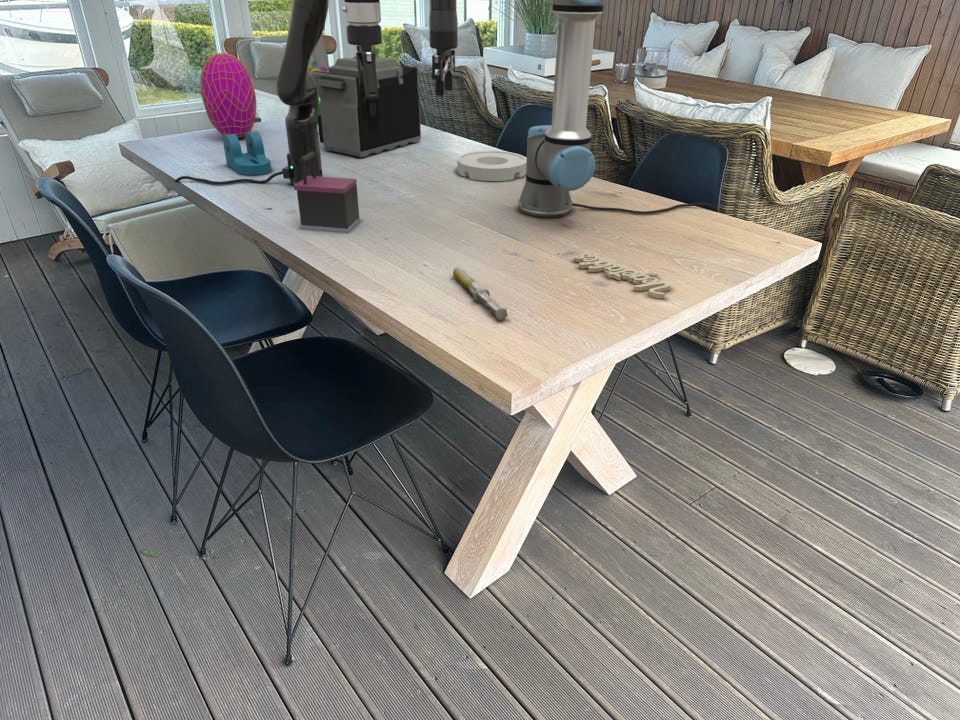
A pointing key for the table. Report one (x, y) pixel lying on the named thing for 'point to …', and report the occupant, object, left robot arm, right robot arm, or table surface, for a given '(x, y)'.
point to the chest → (329, 210)
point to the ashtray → (491, 165)
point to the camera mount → (246, 154)
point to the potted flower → (315, 68)
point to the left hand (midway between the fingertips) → (444, 93)
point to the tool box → (343, 108)
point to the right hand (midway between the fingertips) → (370, 125)
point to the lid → (321, 180)
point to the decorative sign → (625, 274)
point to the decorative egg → (228, 95)
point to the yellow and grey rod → (479, 293)
